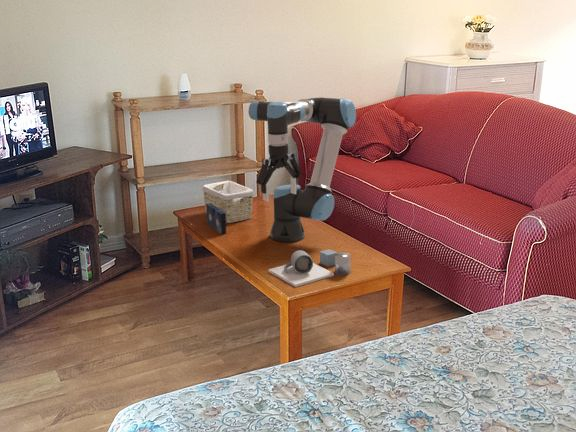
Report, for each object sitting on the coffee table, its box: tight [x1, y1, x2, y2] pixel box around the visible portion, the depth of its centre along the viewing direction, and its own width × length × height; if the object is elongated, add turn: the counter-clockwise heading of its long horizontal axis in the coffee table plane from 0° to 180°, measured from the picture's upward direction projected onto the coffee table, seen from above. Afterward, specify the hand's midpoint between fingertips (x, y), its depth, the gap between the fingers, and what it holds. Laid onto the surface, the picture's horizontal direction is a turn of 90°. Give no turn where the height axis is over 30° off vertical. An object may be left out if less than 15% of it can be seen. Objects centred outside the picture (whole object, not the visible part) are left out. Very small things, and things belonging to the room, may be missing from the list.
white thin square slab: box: [268, 262, 335, 288], centre depth 259 cm, size 18×18×1 cm
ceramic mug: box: [284, 249, 314, 274], centre depth 258 cm, size 11×8×8 cm
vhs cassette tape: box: [205, 203, 227, 235], centre depth 309 cm, size 18×3×10 cm, turn 26°
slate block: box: [319, 248, 338, 268], centre depth 268 cm, size 5×5×5 cm
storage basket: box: [202, 180, 254, 224], centre depth 327 cm, size 24×16×15 cm
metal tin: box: [334, 252, 352, 276], centre depth 259 cm, size 6×6×7 cm
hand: (280, 197), depth 263 cm, fingers open, 13 cm apart
